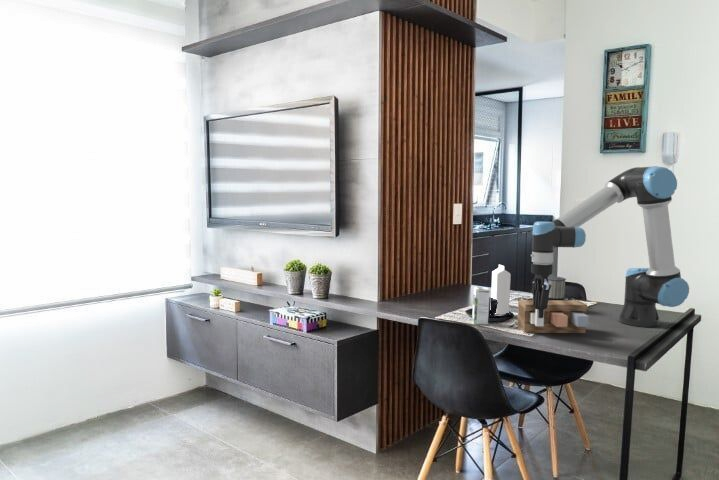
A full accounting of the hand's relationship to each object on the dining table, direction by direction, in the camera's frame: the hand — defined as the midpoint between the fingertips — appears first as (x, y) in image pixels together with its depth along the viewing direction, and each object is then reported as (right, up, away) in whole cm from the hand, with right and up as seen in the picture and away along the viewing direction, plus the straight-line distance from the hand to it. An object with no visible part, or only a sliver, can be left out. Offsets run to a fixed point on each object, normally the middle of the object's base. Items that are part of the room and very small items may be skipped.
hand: (539, 325), depth 207 cm
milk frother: (+17, 0, +46) cm, 49 cm away
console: (+7, -3, +9) cm, 12 cm away
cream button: (0, +1, +7) cm, 7 cm away
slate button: (+16, 0, +3) cm, 16 cm away
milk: (-7, -1, +32) cm, 33 cm away
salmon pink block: (+8, 0, +3) cm, 8 cm away
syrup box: (-18, -2, +18) cm, 26 cm away
